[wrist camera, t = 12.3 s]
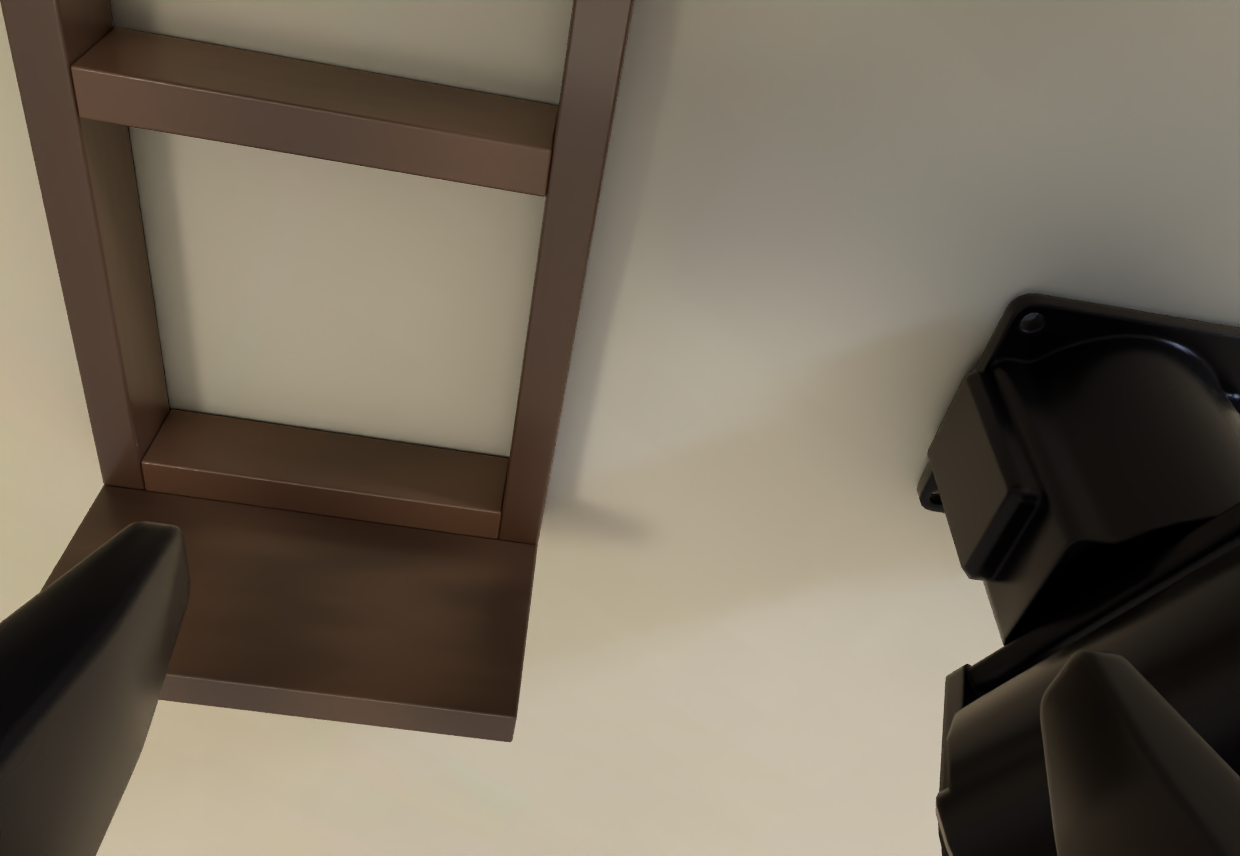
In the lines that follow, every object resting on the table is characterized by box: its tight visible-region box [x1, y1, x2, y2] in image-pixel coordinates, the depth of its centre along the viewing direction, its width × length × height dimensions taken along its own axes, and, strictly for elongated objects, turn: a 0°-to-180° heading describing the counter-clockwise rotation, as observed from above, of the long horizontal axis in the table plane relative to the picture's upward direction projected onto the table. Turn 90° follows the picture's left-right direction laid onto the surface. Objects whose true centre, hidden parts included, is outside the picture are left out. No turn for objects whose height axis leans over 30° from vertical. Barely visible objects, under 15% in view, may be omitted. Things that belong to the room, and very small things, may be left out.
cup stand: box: [0, 0, 634, 742], centre depth 18 cm, size 11×21×7 cm, turn 170°
